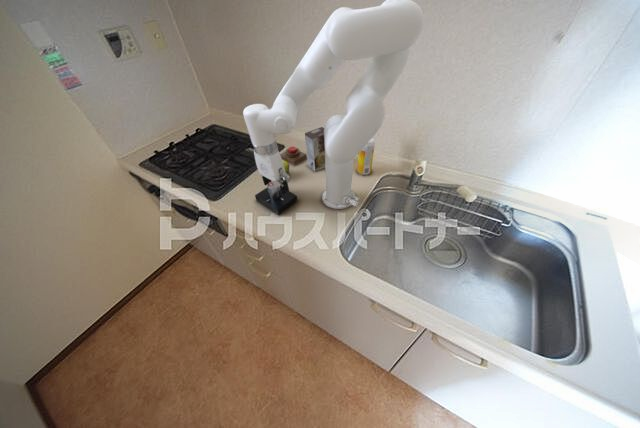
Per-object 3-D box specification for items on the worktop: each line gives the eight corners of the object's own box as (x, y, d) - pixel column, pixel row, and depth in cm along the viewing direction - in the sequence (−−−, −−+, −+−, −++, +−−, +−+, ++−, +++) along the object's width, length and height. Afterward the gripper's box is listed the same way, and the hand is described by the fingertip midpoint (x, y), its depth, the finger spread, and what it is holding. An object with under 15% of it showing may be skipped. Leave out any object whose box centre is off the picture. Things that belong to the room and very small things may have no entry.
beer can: (367, 166, 107) (370, 135, 96) (373, 173, 103) (377, 142, 92) (354, 169, 106) (357, 138, 95) (360, 177, 102) (363, 145, 91)
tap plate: (297, 201, 92) (296, 195, 90) (278, 215, 87) (277, 209, 85) (275, 188, 99) (274, 182, 96) (256, 201, 93) (254, 194, 91)
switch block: (306, 158, 114) (305, 150, 111) (294, 165, 110) (293, 158, 107) (292, 151, 119) (291, 144, 116) (280, 158, 115) (279, 151, 112)
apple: (270, 172, 107) (267, 156, 101) (290, 170, 107) (288, 155, 102) (269, 182, 101) (265, 167, 96) (290, 180, 102) (288, 165, 96)
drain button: (297, 151, 112) (297, 148, 111) (292, 154, 110) (292, 151, 109) (292, 149, 114) (292, 145, 113) (287, 152, 112) (286, 148, 111)
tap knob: (283, 194, 91) (281, 183, 87) (275, 200, 88) (272, 189, 85) (276, 190, 93) (273, 179, 89) (267, 195, 91) (264, 184, 87)
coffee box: (323, 159, 113) (322, 126, 102) (331, 165, 109) (331, 131, 98) (307, 165, 110) (304, 132, 98) (315, 172, 106) (312, 138, 94)
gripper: (240, 144, 79) (254, 184, 91) (274, 159, 70) (285, 202, 82) (257, 134, 82) (269, 175, 94) (292, 148, 74) (300, 190, 86)
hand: (276, 187), depth 88 cm, fingers open, 9 cm apart
